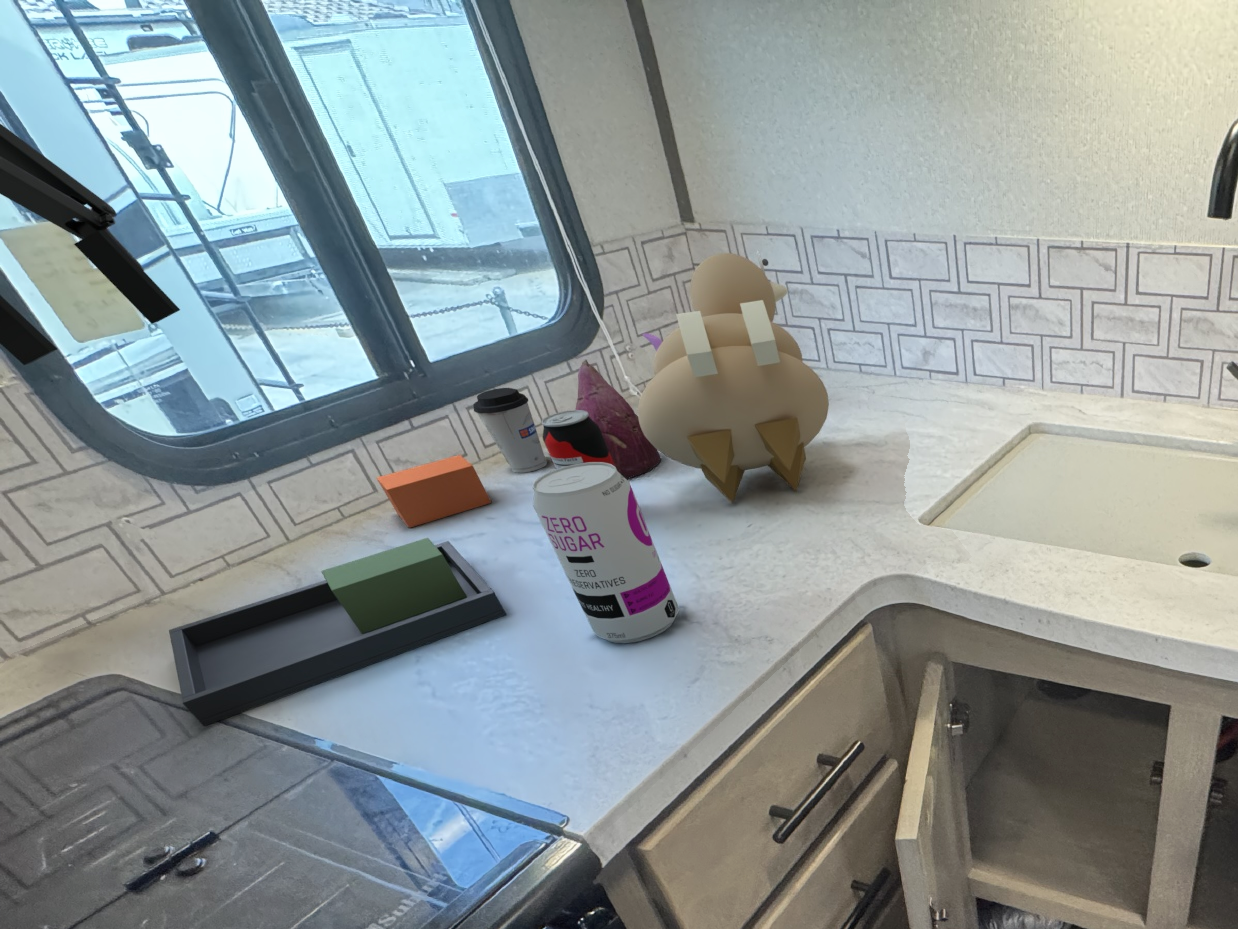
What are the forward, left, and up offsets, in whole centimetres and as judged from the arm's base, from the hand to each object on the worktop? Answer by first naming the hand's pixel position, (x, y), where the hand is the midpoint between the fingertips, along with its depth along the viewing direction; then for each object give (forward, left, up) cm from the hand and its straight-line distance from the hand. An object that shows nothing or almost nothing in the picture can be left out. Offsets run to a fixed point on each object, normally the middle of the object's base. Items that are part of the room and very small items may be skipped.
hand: (108, 336), depth 70 cm
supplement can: (+28, +24, -28) cm, 46 cm away
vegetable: (-17, +40, -28) cm, 52 cm away
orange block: (-22, +18, -28) cm, 40 cm away
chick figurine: (+4, +50, -28) cm, 57 cm away
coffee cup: (-29, +31, -28) cm, 51 cm away
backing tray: (+6, +2, -28) cm, 28 cm away
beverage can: (-2, +32, -28) cm, 42 cm away
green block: (+6, +8, -27) cm, 29 cm away
